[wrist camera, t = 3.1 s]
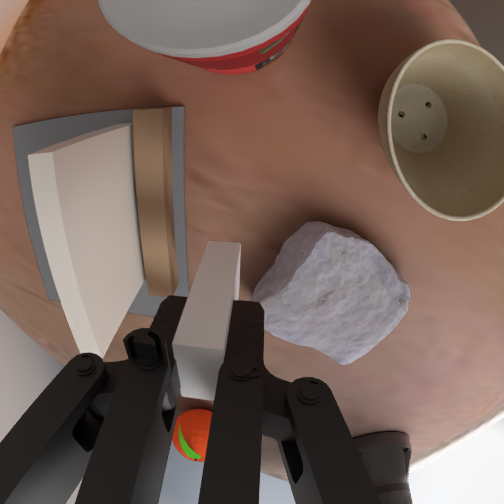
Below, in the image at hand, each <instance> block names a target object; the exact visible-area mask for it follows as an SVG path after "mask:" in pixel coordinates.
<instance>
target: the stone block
mask: <svg viewBox="0 0 504 504" xmlns="http://www.w3.org/2000/svg"><path fill="white" fill-rule="evenodd" d="M410 298H411V294H410V288H409V286H408V284H407V282H406V281H405V280H404V279H403V278H402V277H401V276H400V275H399V274H398V273H397V272H396V271H395V270H394V268H393V266H392V264H390V263H389V262H388V261H387V259H386V258H385V257H384V256H383V255H382V253H381V252H380V251H379V250H378V249H377V248H376V247H375V246H374V245H373V244H372V243H371V242H369V241H367V240H365V239H363V238H361V237H360V236H359V235H357V234H355V233H354V232H353V231H351V230H348V229H344V228H340V227H335V226H332V225H330V224H328V223H324V222H320V221H314V222H313V221H309V222H306V223H305V224H304V225H302V226H301V228H300V229H299V230H298V231H296V232H295V233H294V234H293V235H291V236H290V237H289V238H288V239H287V240H286V241H285V242H284V244H283V246H282V248H281V250H280V252H279V254H278V255H277V256H276V260H275V263H274V264H273V265H272V267H271V268H270V269H269V270H268V271H267V272H266V273H265V274H264V275H263V277H262V278H261V280H260V281H259V282H258V284H257V285H256V287H255V288H254V291H253V293H252V298H251V301H254V302H260V304H261V306H262V307H263V309H264V311H265V313H264V329H265V330H267V331H268V332H269V333H270V334H271V335H274V336H276V337H278V338H280V339H283V340H286V341H288V342H291V343H294V344H297V345H301V346H308V347H312V348H315V349H317V350H319V351H320V352H322V353H324V354H327V355H328V356H330V357H331V358H332V359H333V360H334V361H336V362H337V363H339V364H342V365H346V364H350V363H352V362H353V361H355V360H356V359H358V358H360V357H362V356H363V355H364V354H366V353H367V352H369V351H370V350H371V349H372V348H373V347H374V346H376V345H377V344H378V343H379V342H380V341H381V340H382V339H384V338H385V337H386V336H387V335H388V334H389V333H390V332H391V331H392V330H393V329H394V328H395V327H396V326H397V324H398V323H399V322H400V320H401V319H402V318H403V316H404V315H405V313H406V312H407V311H408V309H409V306H408V301H409V300H410Z"/></svg>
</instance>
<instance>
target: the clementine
mask: <svg viewBox="0 0 504 504" xmlns="http://www.w3.org/2000/svg"><path fill="white" fill-rule="evenodd" d="M211 417H212V412H211V411H209V410H205V409H193V410H188V411H186V412H184V413H183V414H181V415H180V416H179V417H178V418H177V419H176V424H175V428H174V432H173V437H172V441H173V444H174V446H175V447H176V449H177V450H178V451H179V452H180V453H181V454H182V455H183V456H184V457H186V458H188V459H190V460H193V461H199V462H203V461H205V455H206V449H207V442H208V436H209V429H210V423H211Z"/></svg>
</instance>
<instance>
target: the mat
mask: <svg viewBox="0 0 504 504" xmlns="http://www.w3.org/2000/svg"><path fill="white" fill-rule="evenodd" d="M153 108H157V107H153ZM137 109H143V108H137ZM137 109H125V110H114V111H104V112H96V113H88V114H80V115H74V116H67V117H61V118H55V119H49V120H44V121H39V122H34V123H29V124H24V125H20V126H15V127H13V134H14V146H15V155H16V163H17V171H18V177H19V184H20V190H21V195H22V201H23V206H24V211H25V216H26V220H27V225H28V229H29V233H30V237H31V241H32V245H33V249H34V253H35V256H36V260H37V263H38V267H39V270H40V273H41V276H42V279H43V283H44V286H45V289H46V292H47V295H48V297H49V300H53V301H59V302H61V301H60V298H59V295H58V292H57V289H56V286H55V283H54V280H53V276H52V273H51V269H50V266H49V262H48V259H47V255H46V251H45V247H44V243H43V239H42V235H41V231H40V226H39V222H38V217H37V212H36V207H35V202H34V196H33V190H32V184H31V177H30V170H29V162H28V155H29V154H32V153H34V152H36V151H39V150H42V149H44V148H47V147H49V146H52V145H55V144H57V143H60V142H63V141H66V140H69V139H71V138H74V137H77V136H80V135H83V134H86V133H90V132H93V131H96V130H99V129H102V128H106V127H109V126H113V125H116V124H122V123H133V110H137ZM172 182H173V208H174V227H175V243H176V257H177V270H178V282H179V284H178V286H177V289H176V291H175V293H174V296H184V297H188V296H189V279H188V263H187V244H186V222H185V188H184V106H178V107H172ZM166 298H167V297H160V296H151V295H149V293H148V287H147V281H146V279H145V281H144V283H143V284H142V286H141V288H140V290H139V291H138V293H137V295H136V297H135V299H134V300H133V302H132V304H131V306H130V308H129V309H128V311H127V313H132V314H140V315H147V316H155V315H156V313H157V310H158V308H159V306H160V304H161V302H162V301H163V300H164V299H166Z"/></svg>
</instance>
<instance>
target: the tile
mask: <svg viewBox="0 0 504 504" xmlns="http://www.w3.org/2000/svg"><path fill="white" fill-rule="evenodd" d="M28 162H29V170H30V177H31V184H32V190H33V196H34V202H35V207H36V212H37V217H38V222H39V226H40V231H41V235H42V239H43V243H44V247H45V251H46V255H47V259H48V262H49V266H50V269H51V273H52V276H53V280H54V283H55V286H56V289H57V292H58V295H59V298H60V301H61V304H62V307H63V310H64V313H65V315H66V318H67V321H68V324H69V326H70V329H71V331H72V334H73V336H74V339H75V341H76V344H77V346H78V349H79V351H80V353H81V354H82V353H89V352H90V353H94V354H97V355H98V356H100V357H101V358H102V359H103V357H104V355H105V353H106V351H107V349H108V347H109V345H110V343H111V341H112V339H113V337H114V336H115V334H116V332H117V330H118V328H119V326H120V324H121V322H122V320H123V319H124V317H125V315H126V313H127V311H128V309H129V308H130V306H131V304H132V302H133V300H134V299H135V297H136V295H137V293H138V291H139V290H140V288H141V286H142V284H143V283H144V281H145V279H146V274H145V267H144V259H143V252H142V244H141V235H140V226H139V216H138V205H137V194H136V180H135V163H134V140H133V123H122V124H116V125H113V126H109V127H106V128H102V129H99V130H96V131H93V132H90V133H86V134H83V135H80V136H77V137H74V138H71V139H69V140H66V141H63V142H60V143H57V144H55V145H52V146H49V147H47V148H44V149H42V150H39V151H36V152H34V153H32V154H29V155H28Z"/></svg>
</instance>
